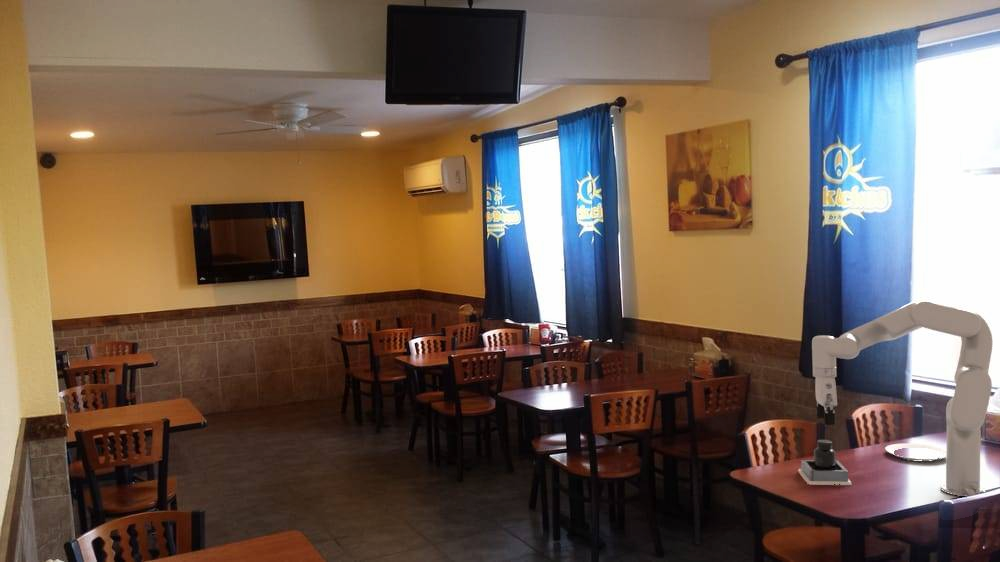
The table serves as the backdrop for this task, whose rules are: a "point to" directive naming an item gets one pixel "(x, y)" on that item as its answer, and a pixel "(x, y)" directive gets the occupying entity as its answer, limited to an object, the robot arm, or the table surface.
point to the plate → (904, 445)
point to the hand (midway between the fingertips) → (825, 421)
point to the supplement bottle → (824, 456)
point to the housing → (824, 474)
